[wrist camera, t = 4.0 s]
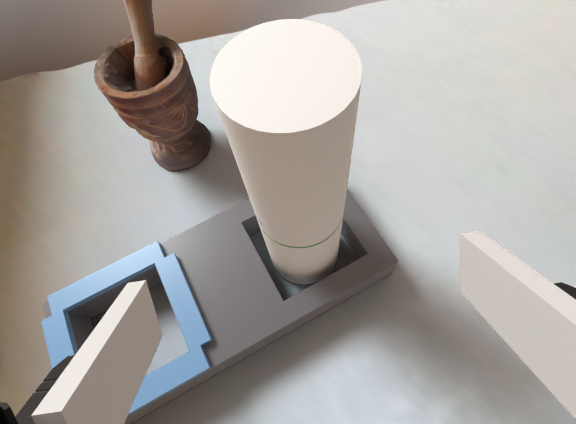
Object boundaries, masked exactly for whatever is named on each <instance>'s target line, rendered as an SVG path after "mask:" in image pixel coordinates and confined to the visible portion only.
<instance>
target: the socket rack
mask: <svg viewBox="0 0 576 424" xmlns="http://www.w3.org/2000/svg"><path fill="white" fill-rule="evenodd" d="M259 231H261V229H260V227H259V224H258V221H257V218H256V215H255V213H254V210H253V207H252V204H251V202H250V199H248V200H246V201H244V202H242V203H240V204H238V205H236V206H234V207H232V208H230V209H228V210H226V211H224V212H222V213H220V214H218V215H216V216H214V217H212V218H210V219H208V220H206V221H204V222H202V223H200V224H198V225H196V226H194V227H192V228H190V229H188V230H186V231H184V232H182V233H180V234H179V235H177V236H175V237H173V238H171V239H169V240H167V241H165V242H163V243H161V244H160V243H159V242H158V241H156V242H154V243H152V244H150V245H148V246H146V247H144V248H142V249H140V250H138V251H136V252H134V253H132V254H130V255H128V256H126V257H124V258H122V259H120V260H118V261H116V262H114V263H112V264H110V265H108V266H106V267H104V268H102V269H100V270H98V271H96V272H94V273H92V274H90V275H89V276H87V277H85V278H83V279H81V280H79V281H77V282H75V283H73V284H71V285H69V286H67V287H65V288H63V289H61V290H59V291H57V292H55V293H53V294H51V295H49V296H47V297H48V301H46V302H44V303H42V304H43V308H44V312H45V316H46V319H44V320H42V321H41V322H42V327H43V331H44V335H45V340H46V344H47V348H48V353H49V357H50V362H51V366H52V369H53V368H54V367H55V366H56V365H57V364H59V363H60V362H61V361H62V360H63V359H65V358H66V357H67V356H72V355H76V353H77V352H78V351H79V349H80V348H81V346H82V345H83V344H84V342H85V341H86V340H87V338H88V337H89V335H90V334H91V333H92V331H93V330H94V327H93V324H92V320H91V319H93V318H95V317H97V316H98V315H100V314H102V313H104V312H106V311H108V309H109V308H110V307H111V305H112V304H113V303H114V301H115V300H116V298H117V297H118V296H119V294H120V293H121V292H122V290H123V289H124V287H125V286H126V285H127V283H130V282H136V281H143V280H146V282H147V285H148V288H149V289H150V288H152V287H154V286H156V285H158V284H160V283H163V286H164V288H165V291H166V293H167V296H168V298H169V301H170V304H171V306H172V309H173V311H174V314H175V316H176V319H177V321H178V324H179V326H180V329H181V331H182V334H183V336H184V339H185V342H186V344H187V347H188V349H189V352H187V353H186V354H184V355H182V356H180V357H178V358H177V359H175V360H173V361H171V362H170V363H168V364H166V365H164V366H162V367H161V368H159V369H157V370H155V371H153V372H152V373H150V374H148V375H146V376H145V377H144V379H143V381H142V384H141V386H140V388H139V391H138V393H137V395H136V397H135V400H134V402H133V404H132V407H131V409H130V411H129V413H128V416H127V418H126V420H125V423H124V424H131V423H133V422H134V421H136V420H138V419H140V418H141V417H143V416H145V415H146V414H148V413H150V412H152V411H153V410H155V409H157V408H159V407H160V406H162V405H164V404H166V403H167V402H169V401H171V400H173V399H174V398H176V397H178V396H180V395H181V394H183V393H185V392H186V391H188V390H190V389H192V388H193V387H195V386H197V385H199V384H200V383H202V382H204V381H206V380H207V379H209V378H211V377H213V376H214V375H216V374H218V373H219V372H221V371H223V370H225V369H226V368H228V367H230V366H232V365H233V364H235V363H237V362H239V361H240V360H242V359H244V358H246V357H247V356H249V355H251V354H252V353H254V352H256V351H258V350H259V349H261V348H263V347H265V346H266V345H268V344H270V343H272V342H273V341H275V340H277V339H279V338H280V337H282V336H284V335H286V334H287V333H289V332H291V331H292V330H294V329H296V328H298V327H299V326H301V325H303V324H305V323H306V322H308V321H310V320H312V319H313V318H315V317H317V316H319V315H320V314H322V313H324V312H325V311H327V310H329V309H331V308H332V307H334V306H336V305H338V304H339V303H341V302H343V301H345V300H346V299H348V298H350V297H352V296H353V295H355V294H357V293H358V292H360V291H362V290H364V289H365V288H367V287H369V286H371V285H372V284H374V283H376V282H378V281H379V280H381V279H383V278H385V277H386V276H388V275H390V274H391V273H392V271H393V270H394V268H395V266H396V265H397V263H398V260H397V259H396V257H395V256H394V254H393V253H392V252H391V250H390V249H389V247H388V246H387V245H386V243H385V242H384V240H383V239H382V238H381V236H380V235H379V233H378V232H377V231H376V229H375V228H374V226H373V225H372V224H371V222H370V221H369V219H368V218H367V217H366V215H365V214H364V212H363V211H362V210H361V208H360V207H359V205H358V204H357V203H356V201H355V200H354V198H353V197H352V196H351V194H350V193H349V192H348V190H347V192H346V199H345V206H344V214H343V221H342V228H341V234H342V235H343V237H344V238H345V240H346V241H347V243H348V244H349V246H350V247H351V249H352V250H353V252H354V253H355V255H356V256H357V258H358V260H356V261H354V262H353V263H351V264H349V265H347V266H345V267H344V268H342V269H340V270H338V271H336V272H335V273H333V274H331V275H329V276H328V277H326V278H324V279H322V280H320V281H319V282H317V283H315V284H313V285H311V286H310V287H308V288H306V289H304V290H303V291H301V292H299V293H297V294H295V295H294V296H292V297H290V298H288V299H286V300H285V301H283V299H282V297H281V295H280V294H279V292H278V290H277V288H276V286H275V284H274V282H273V281H272V279H271V277H270V275H269V273H268V271H267V269H266V268H265V266H264V264H263V262H262V260H261V258H260V256H259V255H258V253H257V251H256V249H255V247H254V245H253V243H252V241H251V240H250V238H249V236H251V235H253V234H255V233H257V232H259Z"/></svg>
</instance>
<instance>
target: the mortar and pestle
mask: <svg viewBox="0 0 576 424" xmlns="http://www.w3.org/2000/svg"><path fill="white" fill-rule="evenodd" d="M123 1H124V5H125V7H126V10H127V13H128V18H129V22H130V26H131V30H132V34H133V36H131V37H128V38H125V39H123V40H120V41H119V42H117V43H116V44H115V45H113V46H110V47H109V48H108V49H107V50H106V51H105V52H104V53H103V54H102V55H101V56H100V58H99V59H98V61H97V62H96V64H95V68H94V79H95V82H96V84H97V86H98V89H99V90H101V92H102V93H103V94H104V96H105V97H106V98H107V100H108V101H109V102H110V104H111V105H112V106H113V108H114V109H115V110H116V112H117V113H118V115H119V116H120V117H121V118H122V120H123V121H124V122H125V123H126V124H127V125H128V126H129V127H131V128H134V129H136V131H137V132H138V133H139V134H140V135H142V136H143V137H144V138H147V139H149V140H150V146H151V152H152V154H153V157H154V159H155V161H156V162H157V163H158V164H159V165H161V166H162V167H164V168H165V169H167V170H168V171H171V170H182V169H186V168H189V167H192V166H194V165H196V164H198V163H199V162H200V161H202V160H203V159H204V158H205V157H206V155H207V153H208V151H209V149H210V141H211V139H210V133H209V131H208V129H207V128H206V126H205V125H203V124H202V123H201V122H199V121H197V120H196V119H197V115H198V98H197V91H196V87H195V83H194V81H193V78H192V75H191V72H190V69H189V65H188V62H187V60H186V58H185V55H184V53H183V51H182V49H181V48H180V47H179V46H178V44H177V43H176V42H174V41H173V40H170V39H169V38H167V37H165V36H162V35H159V34H155V32H154V22H153V13H152V6H151V3H152V0H123Z"/></svg>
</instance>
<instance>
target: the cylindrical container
mask: <svg viewBox="0 0 576 424" xmlns="http://www.w3.org/2000/svg"><path fill="white" fill-rule="evenodd" d="M361 80H362V65H361V60H360V57H359V55H358V52H357V50H356V49H355V47H354V46H353V45H352V43H351V42H350V41H349V40H348V39H347V38H346V37H345V36H344V35H342V34H341V33H339V32H338V31H336V30H335V29H333V28H331V27H328V26H326V25H323V24H321V23H317V22H313V21H308V20H298V19H286V20H276V21H271V22H266V23H263V24H260V25H257V26H254V27H252V28H250V29H247V30H245V31H243V32H242V33H240V34H239V35H237V36H236V37H234V38H233V39H232V40H230V41H229V42H228V43H227V44H226V45H225V46H224V47H223V48H222V50H221V51H220V53H219V54H218V55H217V57H216V58H215V61H214V63H213V66H212V68H211V74H210V88H211V93H212V96H213V99H214V101H215V104H216V107H217V110H218V112H219V115H220V118H221V121H222V123H223V126H224V129H225V132H226V135H227V137H228V140H229V143H230V146H231V148H232V151H233V154H234V157H235V160H236V162H237V165H238V168H239V171H240V174H241V176H242V179H243V182H244V185H245V188H246V190H247V193H248V196H249V199H250V202H251V204H252V207H253V210H254V213H255V215H256V218H257V221H258V224H259V227H260V229H261V232H262V235H263V238H264V240H265V243H266V246H267V249H268V252H269V254H270V257H271V260H272V263H273V265H274V267H275V269H276V270H277V272H278V273H279V274H280V275H281V276H282V277H283V278H285V279H286V280H288V281H290V282H293V283H296V284H312V283H316V282H318V281H320V280H322V279H324V278H325V277H326V276H327V275H328V274H329V273H331V271H332V270H333V268H334V266H335V264H336V262H337V257H338V250H339V243H340V236H341V228H342V221H343V214H344V206H345V199H346V192H347V184H348V177H349V169H350V162H351V154H352V147H353V139H354V132H355V124H356V117H357V109H358V102H359V94H360V87H361Z"/></svg>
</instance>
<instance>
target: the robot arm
mask: <svg viewBox="0 0 576 424" xmlns="http://www.w3.org/2000/svg"><path fill="white" fill-rule="evenodd" d="M460 292H461V293H462V294H463V295H464V297H465V298H466V299H467V300H468V301H469V302H470V303H471V304H472V305H473V307H474V308H475V309H476V310H477V311H478V312H479V313H480V314H481V315H482V316H483V318H484V319H485V320H486V321H487V322H488V323H489V324H490V325H491V326H492V328H493V329H494V330H495V331H496V332H497V333H498V334H499V335H500V336H501V337H502V339H503V340H504V341H505V342H506V343H507V344H508V345H509V346H510V347H511V349H512V350H513V351H514V352H515V353H516V354H517V355H518V356H519V357H520V358H521V360H522V361H523V362H524V363H525V364H526V365H527V366H528V367H529V368H530V370H531V371H532V372H533V373H534V374H535V375H536V376H537V377H538V378H539V379H540V381H541V382H542V383H543V384H544V385H545V386H546V387H547V388H548V389H549V391H550V392H551V393H552V394H553V395H554V396H555V397H556V398H557V399H558V400H559V402H560V403H561V404H562V405H563V406H564V407H565V408H566V409H567V410H568V412H569V413H570V414H571V415H572V416H573V417H574V418H575V419H576V288H574V287H572V286H569V285H567V284H564V283H562V282H561V283H554V284H553V283H552V282H550V281H549V280H547V279H546V278H545V277H543V276H542V275H540V274H539V273H538V272H536V271H535V270H533V269H532V268H531V267H529V266H528V265H526V264H525V263H523V262H522V261H521V260H519V259H518V258H516V257H515V256H514V255H512V254H511V253H509V252H508V251H507V250H505V249H504V248H502V247H501V246H500V245H498V244H497V243H495V242H494V241H492V240H491V239H490V238H488V237H487V236H485V235H484V234H483V233H481V232H480V231H473V232H466V233H460ZM162 336H163V335H162V331H161V328H160V325H159V321H158V318H157V315H156V311H155V308H154V305H153V302H152V298H151V295H150V292H149V288H148V285H147V282H146V280H143V281H136V282H130V283H127V285H126V286H125V287H124V289H123V290H122V292H121V293H120V294H119V296H118V297H117V298H116V300H115V301H114V303H113V304H112V305H111V307H110V308H109V309H108V311H107V312H106V313H105V315H104V316H103V318H102V319H101V320H100V322H99V323H98V324H97V326H96V327H95V329H94V330H93V331H92V333H91V334H90V335H89V337H88V338H87V340H86V341H85V342H84V344H83V345H82V346H81V348H80V349H79V351H78V352H77V353H76V355H72V356H67V357H66V358H65V359H63V360H62V361H61V362H60V363H59V364H57V365H56V366H55V367H54V368H53V369H52V370H51V371H50V373H49V374H48V375H47V377H46V378H45V379H44V382H43V383H41V384H40V386H39V387H38V388H37V389H36V393H33V395H32V396H31V397H30V398H29V400H28V401H27V402H26V404H25V405H24V406H23V408H22V409H21V410H20V411H19V413H18V414H17V415H16V417H15V416H14V414H13V412H12V410H11V408H10V406H9V405H8V404H7V403H1V402H0V424H124V423H125V420H126V418H127V416H128V413H129V411H130V409H131V407H132V404H133V402H134V400H135V397H136V395H137V393H138V391H139V388H140V386H141V384H142V381H143V379H144V377H145V375H146V372H147V370H148V368H149V365H150V363H151V361H152V358H153V356H154V354H155V352H156V349H157V347H158V345H159V342H160V340H161V338H162Z"/></svg>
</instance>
